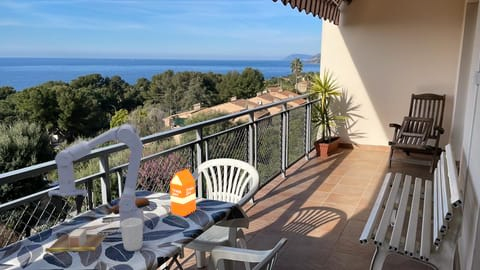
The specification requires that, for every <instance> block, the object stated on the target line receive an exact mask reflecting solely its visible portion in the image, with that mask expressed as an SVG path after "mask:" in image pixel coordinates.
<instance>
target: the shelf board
mask: <svg viewBox="0 0 480 270" xmlns="http://www.w3.org/2000/svg"><path fill="white" fill-rule="evenodd" d="M69 235H70V234H62V235H61V236H60V237H59V238H58V239H57V240H56V241H55V242H54V243H52V245H50V246H49V247H46V248H45V249H44V251H45V252H49V253H50V252H95V251H96V250H97V249H98V247H99V246H100V245H101V244H102V242H104V240H105V238H106V237H107V236H108V233H107V234H106V233H105V234H104V233H101V234H97V233H96V234H89V233H88V234H87V233H86V237H87V242H86V243H85V244H84V245H83V246H82V247H81V248H69V237H68V236H69Z"/></svg>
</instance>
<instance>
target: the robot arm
mask: <svg viewBox="0 0 480 270" xmlns="http://www.w3.org/2000/svg"><path fill="white" fill-rule="evenodd" d="M109 141H114V142H117V141H119V142H120V143H123V144H125V145H126V146H127V147H128V148H129V150H130V154H129V160H128V165H127V172H126V177H125V183H124V189H123V192H122V193H121V195H120V199H119V202H118V204H119V213H118V215H119V228H118V229H117V233H122V232H121V222H122V221H123V220H126V219H130V218H139V219H142V221H143V228H144V227H145V225H146V224H145V216H144V215H145V214H144V209H143V208H139V207H137V206H136V205H135V200H136V199H137V195H136V187H137V182H138V176H139V171H140V165H141V160H142V155H143V148H144V144H143V141H142V139H141V137H140V136H139V133H138V131H137V129H136V128H135V127H134V126H133V125H131V124H130V123H123V124H121V125H120V126H119V125H118V126H115V127H113V128H111V129H108V130H107V131H105V132H103V133H101V134H99V135H98V136H96V137H94V138H91V140H89V141H88V140H82V141H81V140H78V141H76V143H75V144H73V145H71V146H69V147H68V146H67V147H65V148H64V149H63V150H61V151H59V152H58V153H57V154H56V155H55V157H54V160H55V161H54V162H55V165H57V176H58V177H57V178H58V185H59V186H58V187H59V189H55V190H49V191H48V197H51V198H50V201H51V203H52V204H53V206H54V207H55V209H56V211H57V214H58V215H61V214H62V213H63V205H62V204H63V203H62V202H63V200H62V199H63V197H74V201H75V205H76V214H77V215H79V214H81V213H82V208H83V203H84V201H85V198H86V197H87V196H88V190H87V189H76V178H75V169H74V161H75V162H76V161H77V160H79V159H81V158H84V157H86V156H87V155H90V154H91V153H92V149H94V148H96V147H98V146H101V145H102V144H105V143H106V142H109Z"/></svg>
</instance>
